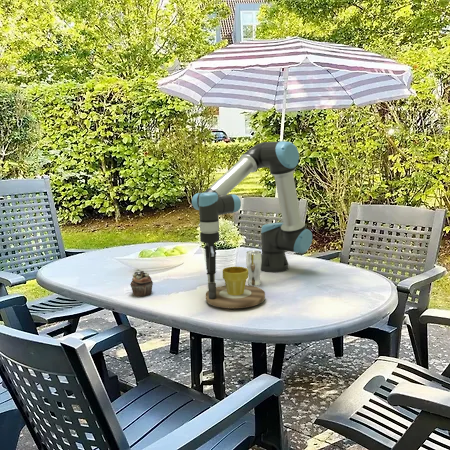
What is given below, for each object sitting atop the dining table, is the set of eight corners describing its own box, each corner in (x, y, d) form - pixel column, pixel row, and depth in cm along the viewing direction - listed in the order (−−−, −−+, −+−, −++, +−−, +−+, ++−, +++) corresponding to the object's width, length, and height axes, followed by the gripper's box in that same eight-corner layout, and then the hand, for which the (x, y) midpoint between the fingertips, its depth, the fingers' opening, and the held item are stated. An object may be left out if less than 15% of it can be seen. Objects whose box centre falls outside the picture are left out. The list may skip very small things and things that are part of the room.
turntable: (224, 286, 209) (223, 268, 208) (274, 293, 197) (274, 274, 196) (194, 302, 189) (193, 283, 187) (248, 311, 177) (247, 291, 176)
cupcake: (158, 293, 206) (156, 271, 204) (139, 299, 199) (138, 275, 198) (144, 289, 213) (143, 267, 211) (126, 294, 206) (125, 272, 204)
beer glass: (244, 283, 217) (243, 251, 214) (257, 281, 220) (257, 249, 217) (250, 287, 211) (250, 254, 208) (264, 285, 213) (264, 252, 211)
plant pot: (254, 293, 192) (253, 269, 190) (234, 298, 185) (233, 274, 184) (237, 287, 200) (236, 264, 198) (217, 292, 193) (217, 269, 192)
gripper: (197, 229, 194) (200, 285, 198) (202, 235, 181) (204, 294, 186) (216, 228, 195) (218, 283, 200) (221, 234, 183) (223, 293, 187)
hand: (211, 288), depth 193 cm, fingers closed
